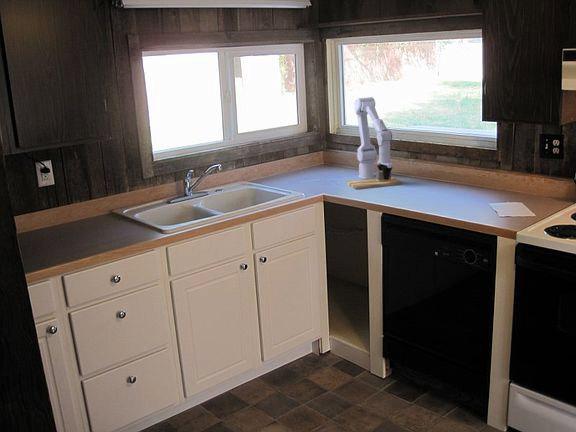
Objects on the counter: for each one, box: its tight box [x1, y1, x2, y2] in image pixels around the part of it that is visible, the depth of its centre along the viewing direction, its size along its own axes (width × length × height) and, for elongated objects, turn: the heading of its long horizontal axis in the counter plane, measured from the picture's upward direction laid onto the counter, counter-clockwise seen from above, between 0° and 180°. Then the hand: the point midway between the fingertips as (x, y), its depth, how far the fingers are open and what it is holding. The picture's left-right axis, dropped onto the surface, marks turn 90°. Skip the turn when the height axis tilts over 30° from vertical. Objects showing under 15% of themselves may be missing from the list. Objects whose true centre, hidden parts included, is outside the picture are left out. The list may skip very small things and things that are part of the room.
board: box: [346, 176, 403, 190], centre depth 333 cm, size 14×26×2 cm, turn 104°
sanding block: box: [375, 170, 392, 182], centre depth 333 cm, size 4×7×5 cm, turn 104°
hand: (384, 178), depth 334 cm, fingers closed on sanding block, 4 cm apart
